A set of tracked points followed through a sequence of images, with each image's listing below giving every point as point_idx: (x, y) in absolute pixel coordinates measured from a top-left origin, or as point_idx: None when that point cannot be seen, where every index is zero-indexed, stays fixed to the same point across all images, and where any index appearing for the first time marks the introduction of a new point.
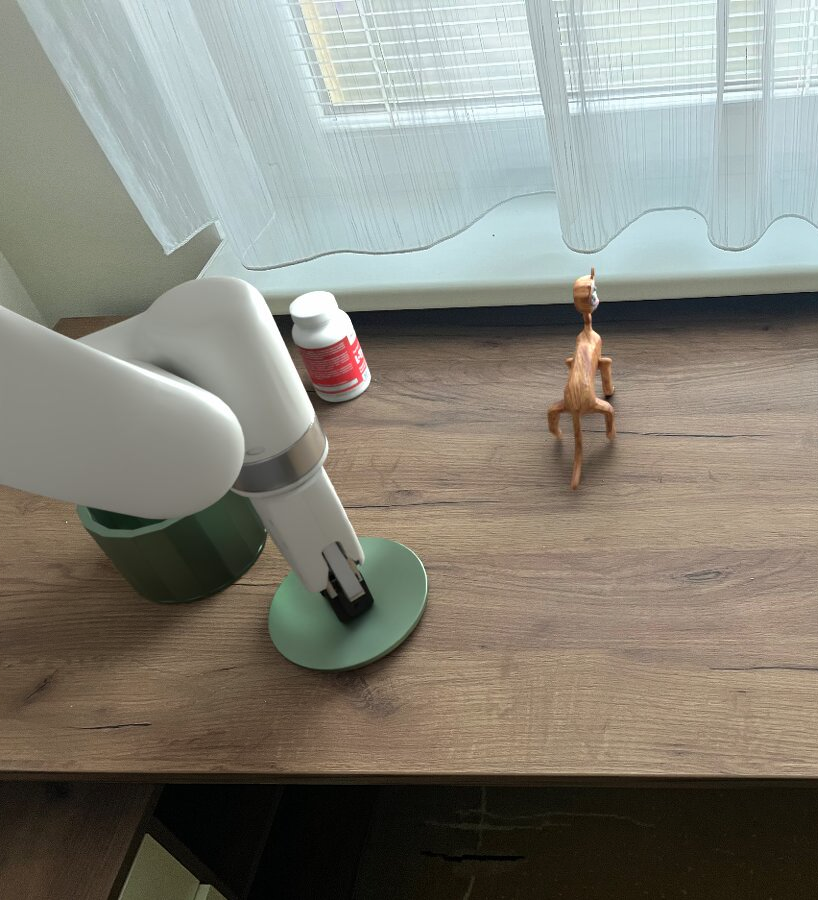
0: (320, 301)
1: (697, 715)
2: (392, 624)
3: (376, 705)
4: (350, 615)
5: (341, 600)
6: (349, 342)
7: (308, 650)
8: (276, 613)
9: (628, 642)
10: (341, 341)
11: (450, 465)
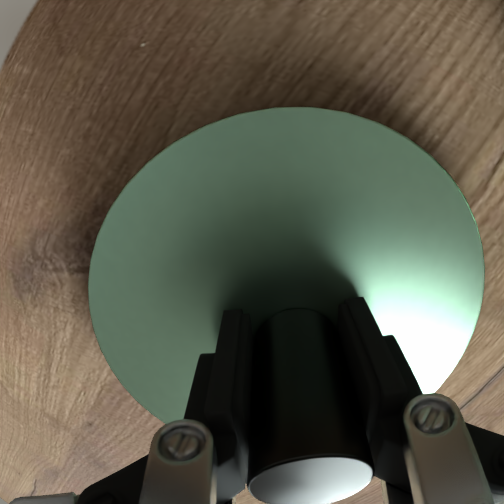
0: None
1: (3, 454)
2: (159, 384)
3: (30, 269)
4: (201, 353)
5: (185, 410)
6: None
7: (186, 196)
8: (390, 156)
9: (65, 477)
10: None
11: None
